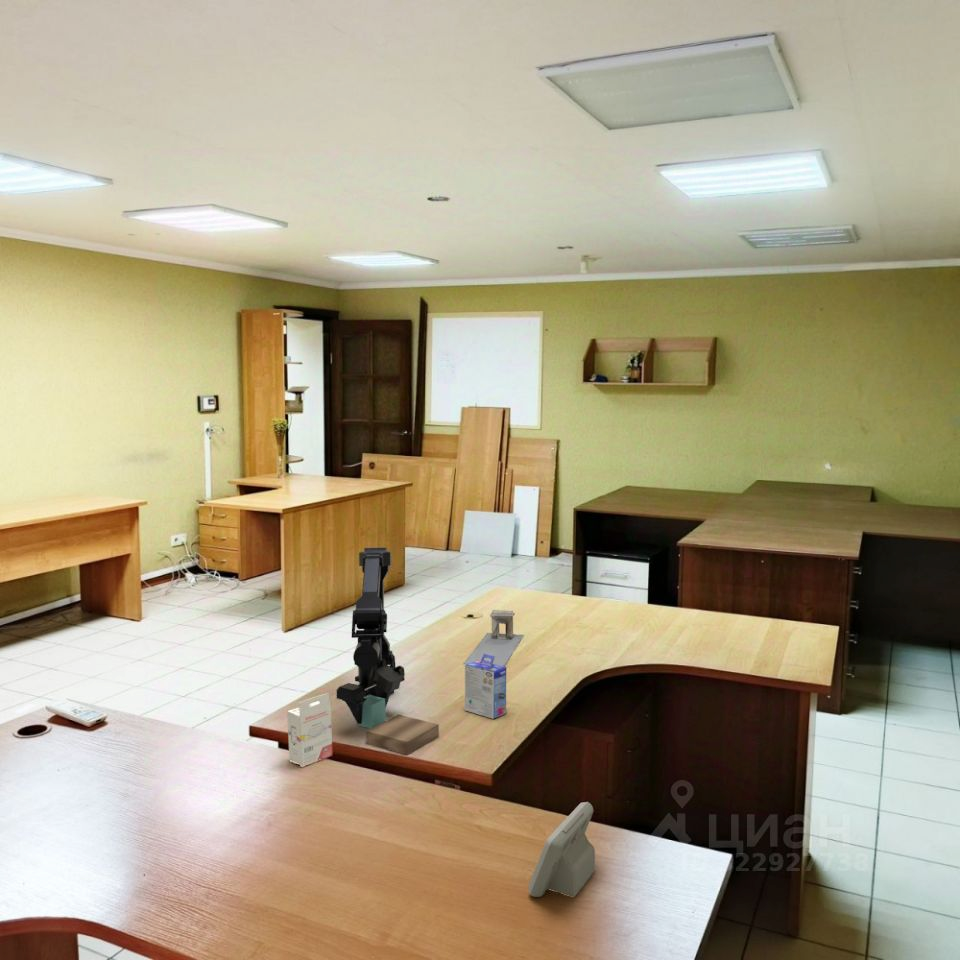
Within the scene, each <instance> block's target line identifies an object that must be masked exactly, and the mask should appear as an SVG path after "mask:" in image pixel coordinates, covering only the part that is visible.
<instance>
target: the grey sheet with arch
mask: <svg viewBox="0 0 960 960" xmlns="http://www.w3.org/2000/svg"><path fill="white" fill-rule="evenodd" d="M515 614H516V613H515V612H514V611H513V610H507V609H505V610H502V609H493V610H492V611H491V613H490V614H489V617H490V618H491V632H486V634H485V635H484V636H483V638H481V640H480V641H479V643H478V644H477V645H476V647H475V648H474V649H473V650H472V652H471V653H470V654H469V655H468V657H467V658H466V660H465V661H464V662H463V665H464V666H465V665H466V664H468V663H471V662H474V661H481V659H482V657H483V655H484V654H487V655H491V656H495V657H494V661H493V664H495V665H500V666H504V667H506V665H507V663H508V662H509V660H510V658H511V657H512V656H513V653H514V652H515V650H516V649H517V647H518V646H519V644H520V643H521V641H522V640H523V638H524V636H525V635H524V634H516V633H515V634H514V616H515ZM503 624H504V625H505V633H500V625H503ZM484 660H486V661H490V662H491V659H490V658H484Z"/></svg>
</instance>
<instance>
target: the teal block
mask: <svg viewBox="0 0 960 960" xmlns="http://www.w3.org/2000/svg"><path fill="white" fill-rule="evenodd" d="M364 698H366V699H367V700H366V701H365V702H364V703H363V710H362V723H361V724H358V723H357V722H356V725H357V726H361V727H365V728H367V729H371V728H373V727H375V726H377V725H379V724H381V723H383V722H385V721H386V720H387V719H386V709H385V699H384V698H380V697H376V696H372V695H368V696H366V695H365V697H364Z"/></svg>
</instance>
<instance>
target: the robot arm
mask: <svg viewBox="0 0 960 960" xmlns="http://www.w3.org/2000/svg"><path fill="white" fill-rule="evenodd" d="M392 553H393V552H392V551H390V550H389V551H388V547H386V546H385V547H383V546H382V547H381V546H380V547H364V550H363V551H359V552H358V566H359V567H361V569H362V573H363V579H362V590H361V592H362V593H361V596H360V597H359V598H358V599H357V600H356V603H355V609H353V610H352V620H351V638H353V639H357V644H356V646H355V649H354V652H353V655H352V658H353V662H354V663H353V664H354V665H355V666H357V667H358V668H357V670H358V671H357V673H358V675H356V676H354V681H355V682H357V683H358V684H355V683H350V682H347V683H345V684H343V685H340V686H338V688H337V689H336V692H335V694H336V699H338V700H341V701H344V702H345V704H346V705H347V707H348V708H349V710H350V712H351V714H352V717H353V718H354V720H355V722H356V724H357V723H358V724H361V723H362V710H363V703H364V702H365V701H366V700H367V699H366V698H364V697H366V696H368V695H372V696H376V697H380V698H384V699H385V710H386V709H387V706H388V702H389V699H390V697H391V694H393V693H394V692H395V690H399V689H400V686H401V683H402V682H404V681H405V676H406V675H405V674H406V673H405V668H404V667H403V666H402V665H397V666H396V657H395V655H394V653H393V650H391V643H390V642H389V640H388V638H387V637H386V635H385V633H387V631H388V630H387V627H388V614H387V613H386V610H385V586H384V585H385V583H384V582H385V581H384V580H385V579H386V577H387V575H388V573H389V572H390V567H391V566H392V564H393V555H392Z"/></svg>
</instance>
